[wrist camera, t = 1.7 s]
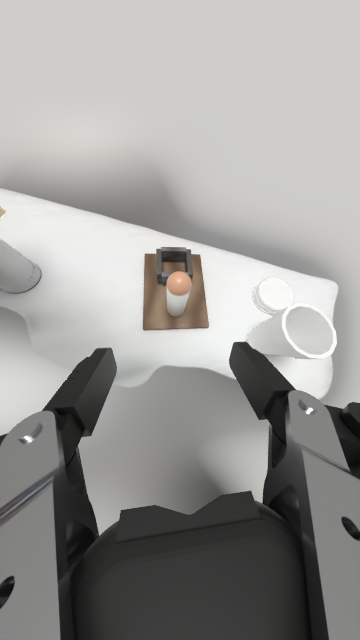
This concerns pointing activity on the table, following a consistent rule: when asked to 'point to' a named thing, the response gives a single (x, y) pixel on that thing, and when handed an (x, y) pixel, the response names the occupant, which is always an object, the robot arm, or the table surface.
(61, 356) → the table surface
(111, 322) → the table surface
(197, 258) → the jig board
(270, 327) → the foam cup
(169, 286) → the orange-capped post
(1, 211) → the book
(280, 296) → the coaster
